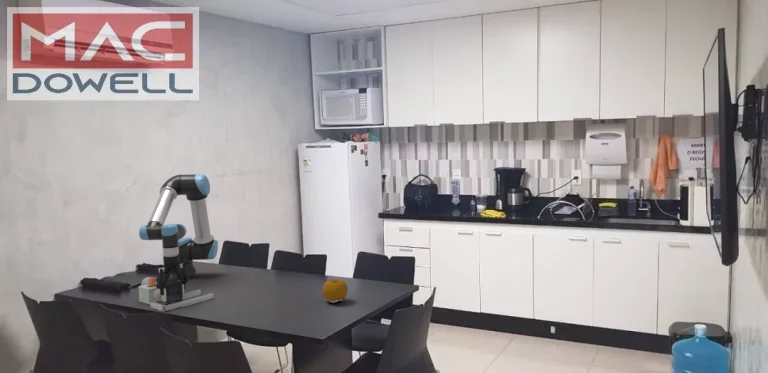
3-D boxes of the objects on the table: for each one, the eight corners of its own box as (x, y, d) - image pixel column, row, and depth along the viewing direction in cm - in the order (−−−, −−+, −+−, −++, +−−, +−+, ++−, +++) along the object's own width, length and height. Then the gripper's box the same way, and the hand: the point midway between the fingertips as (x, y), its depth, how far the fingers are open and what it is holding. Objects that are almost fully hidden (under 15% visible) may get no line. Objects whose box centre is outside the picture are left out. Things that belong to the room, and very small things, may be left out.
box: (181, 298, 296) (180, 278, 295) (182, 301, 291) (181, 280, 290) (164, 300, 293) (163, 280, 292) (165, 303, 288) (164, 282, 287)
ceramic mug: (145, 295, 312) (145, 281, 311) (140, 291, 318) (140, 278, 317) (165, 291, 318) (165, 277, 318) (160, 288, 325) (159, 274, 324)
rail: (199, 294, 311) (199, 289, 311) (213, 298, 303) (212, 293, 303) (150, 307, 289) (150, 301, 289) (163, 312, 281) (163, 306, 281)
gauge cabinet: (157, 296, 308) (156, 282, 307) (167, 300, 301) (166, 285, 300) (139, 301, 300) (138, 286, 299) (149, 305, 294) (148, 289, 293)
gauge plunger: (154, 290, 303) (153, 276, 302) (157, 291, 301) (157, 278, 300) (147, 291, 300) (146, 278, 299) (151, 292, 298) (150, 279, 297)
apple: (351, 299, 298) (351, 277, 297) (341, 307, 286) (341, 284, 285) (329, 297, 302) (328, 276, 301) (318, 304, 290) (317, 282, 289)
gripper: (186, 250, 300) (188, 292, 303) (146, 258, 283) (149, 302, 286) (194, 252, 296) (196, 294, 298) (154, 260, 279) (157, 305, 281)
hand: (173, 298), depth 292 cm, fingers closed on box, 9 cm apart
